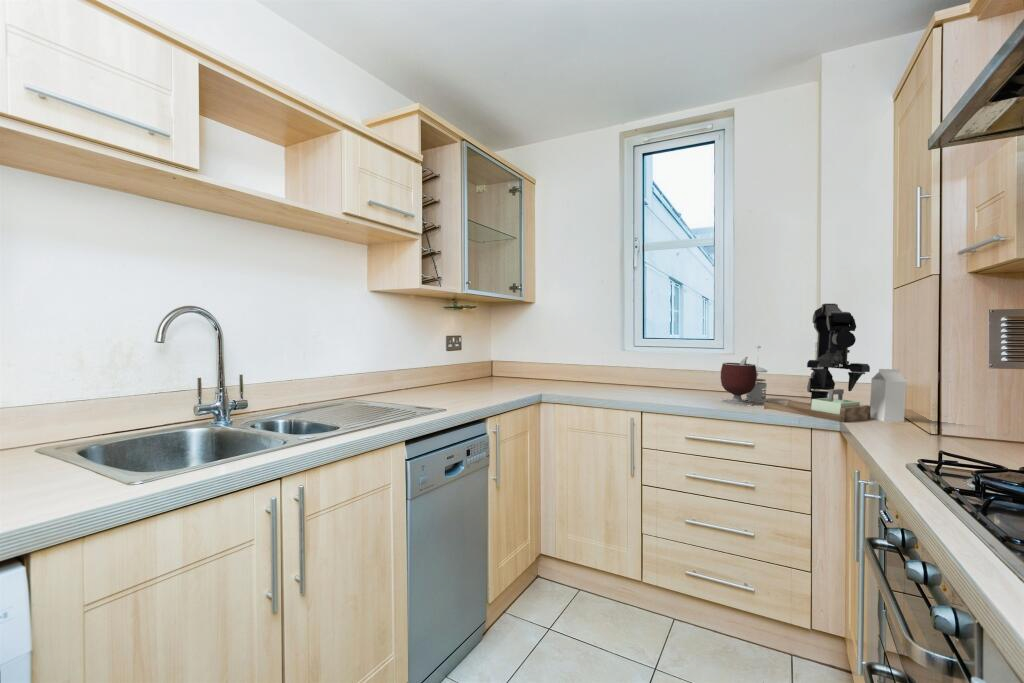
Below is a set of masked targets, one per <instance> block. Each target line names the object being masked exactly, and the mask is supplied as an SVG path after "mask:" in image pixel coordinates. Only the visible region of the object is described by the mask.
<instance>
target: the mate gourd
mask: <svg viewBox="0 0 1024 683" xmlns="http://www.w3.org/2000/svg"><path fill="white" fill-rule="evenodd" d="M747 360H748V356H745V357H744V358H743V359H742V360H741V361H740V362H722V365H721V368H720V383H721V387H722V388H723V389H724V391H726V392H728V393H730V394H732V395H733V398H732V399H722V400H721V403H722V404H724V403H726V404H725V405H728V404H732V405H731V406H736V405H752V406H754V402H750V401H745V400H743V398H742V396H744V395H746V393H749V392H751V391H752V390H753V389H754V387H755V384H756V378H758V376H757V373H758V372H756V367H757V365H756V364H754V363H747Z"/></svg>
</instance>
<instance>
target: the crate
mask: <svg viewBox="0 0 1024 683" xmlns="http://www.w3.org/2000/svg"><path fill="white" fill-rule="evenodd" d="M827 391H828V398H820V399H812V405H811V410H816V411H822V412H828V413H834V414H840V408H845V407H856V406H861V405H860V404H861V403H860V402H861V401H858V400H857V401H856V400H850V399H843V396H844V394H845V389H844V388H843V389H842V388H834V389H830V390H827ZM834 395H837V397H836V398H835V397H834Z"/></svg>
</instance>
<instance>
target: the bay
mask: <svg viewBox="0 0 1024 683" xmlns="http://www.w3.org/2000/svg"><path fill="white" fill-rule="evenodd" d="M811 405H812V404H811V402H810V403H808V402H802V401H801V402H800V401H797V400H795V401H794V400H787V405H786V404H779V403H775V402H769V401H768V402H764V403H763V409H764V410H772V411H773V410H774V411H779V412H784V413H790V414H795V415H799V416H807V417H812V418H817V419H822V420H823V419H824V420H829V421H834V422H839V423H851V422H857V421H858V422H859V421H866V420H867V421H868V420H871V418H870V411H871V406H870V405H860V406H856V407H845V408H840V414H834V413H828V412H822V411H816V410H811Z"/></svg>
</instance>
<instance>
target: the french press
mask: <svg viewBox="0 0 1024 683" xmlns="http://www.w3.org/2000/svg"><path fill="white" fill-rule="evenodd" d="M755 348H756V349H757V351H759V349H761V345H759V344H758V345H756V346H755ZM756 359H757V360H756V361H757V362H756V364H757V365H756V372H757V377H756V384H755V387H754V389H753V390H752V391H751V392H749V393H746V394H745V395H746V398H744V399H743V401H745V400H748V401H747V402H750V401H755V402H754V403H760V402H767V401H768V400H767V383H766V379H763V378H758V376H759V373H767V372H768V370H767V369H765V368H763V367H760V366H759V357H757V358H756Z"/></svg>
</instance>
